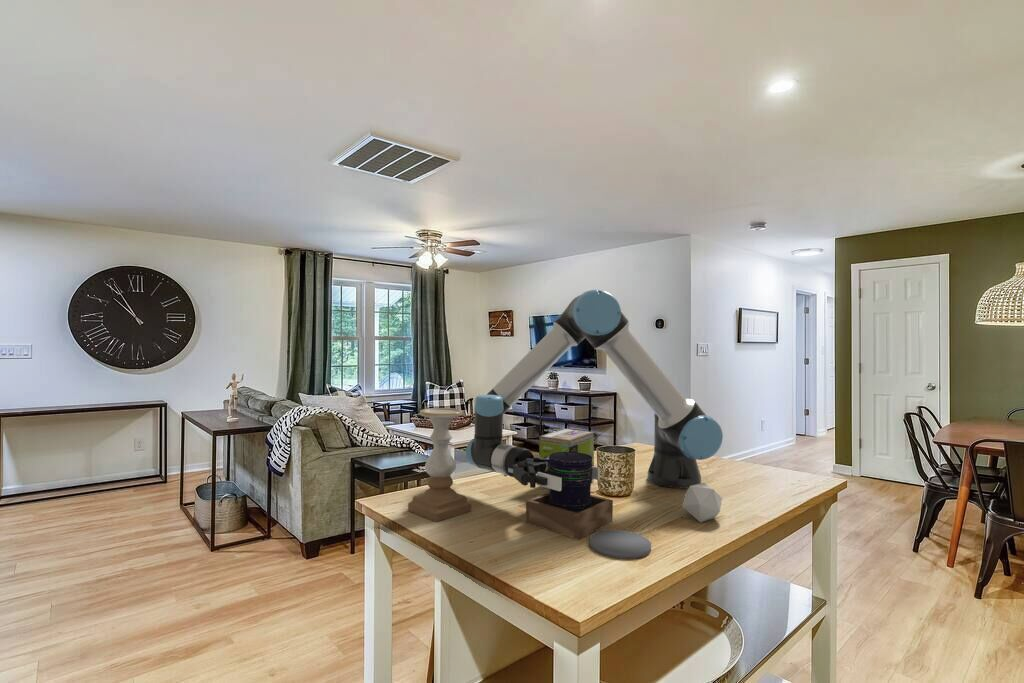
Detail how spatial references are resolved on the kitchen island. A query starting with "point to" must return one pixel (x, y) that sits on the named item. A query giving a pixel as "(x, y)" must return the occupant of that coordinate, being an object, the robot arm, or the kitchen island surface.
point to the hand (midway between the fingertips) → (580, 479)
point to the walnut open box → (569, 516)
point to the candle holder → (440, 472)
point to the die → (702, 502)
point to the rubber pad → (620, 544)
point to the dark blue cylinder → (571, 480)
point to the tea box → (567, 443)
